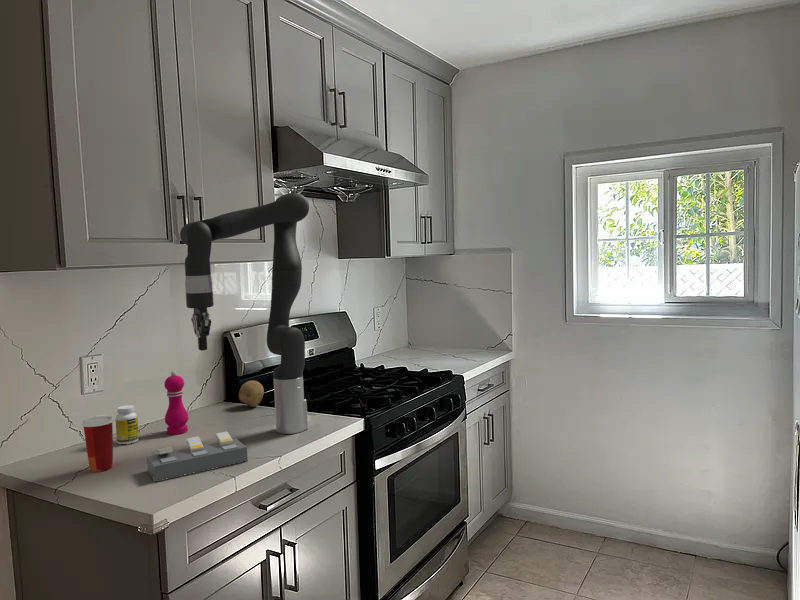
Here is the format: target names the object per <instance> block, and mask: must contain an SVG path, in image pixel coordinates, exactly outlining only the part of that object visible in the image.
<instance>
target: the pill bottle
mask: <svg viewBox="0 0 800 600" xmlns="http://www.w3.org/2000/svg"><path fill="white" fill-rule="evenodd" d="M134 411H135V406H134V405H131V404H129V405H122V406H118V407H117V415H116V416H115V418H114V419H115V433H116V434H115V435H116V443H117V445H121V444H127V445H131V443H132V444H134V443H137V442H138V441H139V440H140V439H139V437H140V436H139V422H138V415H137V413H136V412H134Z"/></svg>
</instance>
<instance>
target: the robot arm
mask: <svg viewBox="0 0 800 600" xmlns="http://www.w3.org/2000/svg"><path fill="white" fill-rule="evenodd" d="M309 212H310V203H309V201H308V200H307V198H306V197H305V196H304V195H303V194H301V193H298V192H290V193H285V194H282V195H280V196H278V197H277V198H276V199H275V201H273V202H269V203H266V204H263V205H262V204H261V205H258V206H254V207H250V208H245V209H239V210H234V211H230V212H226V213H222V214H220V215H217V216H214V217H211V218H207V219H201V220H196V221H192V222H188V223H186V224H184V225H183V227H182V228H180V229H181V230H180V233H179V236H180V240H181V241H182V242H183V243H184V245H186V246H187V254H186V255H187V256H186V257H185V259H184V272H185V273H184V274H185V280H184V285H185V287H184V289H185V304H186V308H188V309H193V313H192V314H191V315H192V317H191V323H192V329H193V331H194V336H195V335H196V338H197V349H198V350H199V351H201V352H203V351H207V350H208V337H209V336H210V331H211V325H212V320H211V319H210V313H209V311H208V308H211V307H214V303H215V302H214V291H213V289H214V287H213V280H212V273H211V261H210V259H211V255H212V254H211V251H212V242H213V241H217V240H224V239H229V238H233V237H236V236H240V235H242V234H246V233H249V232H252V231H255V230H257V229H260V228H263V227H267V226H271V225H273V250H272V251H273V255H272V267H271V268H272V269H271V297H270V310H269V318H268V324H267V325H268V326H267V330H266V345H267V348H268V350H269V351H270V353H272V354H273V355H277V356H280V364H279V366H277V367H275V368H274V369H273V370H272V371H273V373H272V376H273V379H272V380H273V394H274V395H273V396H274V413H275V428H276V429H275V430H276V432H277V433H279V434H285V435H290V434H299V433H301V432H303V431H305V430H308V429H309V427H308V405H307V403H308V401H307V399H306V398H305V396H304V395H305V393H304V391H305V390H304V374H303V372H304V369H305V365H306V364H305V363H306V341H305V340H306V339H305V336H304V334H303V332H302V330H301V329H299V328H297V327H295V326H290V313H291V308H292V307H293V304H294V302H295V300H296V298H297V296H298V294H299V292H300V289H301V286H302V285H301V284H302V277H303V276H302V274H303V272H302V271H303V265H302V264H303V263H302V259H301V256H300V252H299V249H298V244H297V238H296V237H297V235H296V234H297V223H299V222H301V221H302V220H304V219H305V218H306V217H307V216H308V214H309Z"/></svg>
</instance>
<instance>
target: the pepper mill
mask: <svg viewBox="0 0 800 600" xmlns="http://www.w3.org/2000/svg"><path fill="white" fill-rule="evenodd" d="M177 374H178V373H177V371H176V370H173V371H171V372H170V376H168V377H167V378H166V379H165V381H164V389H165V390H167V391H166V397H167V398H168V406H167V409H166V412H165V414H164V415H165V416H164V422H165V424H166V425H167V427H166V430H167V433H166V434H168V435H169V436H174V435H175V436H176V435H182V434H186V433H188V431H189V429H188V427H189V426H188V424H187V422H188V421H189V414H188V411H187V409H186V408H185V406H184V404H183V395H184V390H183V388H184V387H185V381H184V378H183V376H179V375H177Z"/></svg>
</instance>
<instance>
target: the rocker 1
mask: <svg viewBox="0 0 800 600" xmlns="http://www.w3.org/2000/svg"><path fill="white" fill-rule="evenodd" d="M173 451H174V449H173V446H167V447H163V448H158V449H156V450H155V454H164V453H169V452H173Z"/></svg>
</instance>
